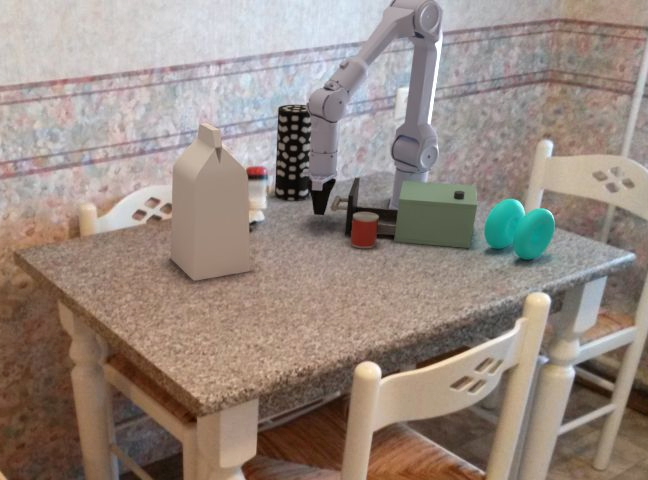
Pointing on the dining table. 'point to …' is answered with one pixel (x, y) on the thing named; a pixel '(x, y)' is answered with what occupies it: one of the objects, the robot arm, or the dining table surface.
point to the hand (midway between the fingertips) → (319, 213)
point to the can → (364, 230)
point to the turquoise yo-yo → (519, 228)
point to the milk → (210, 209)
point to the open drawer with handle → (385, 215)
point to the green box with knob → (436, 214)
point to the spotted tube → (292, 152)
